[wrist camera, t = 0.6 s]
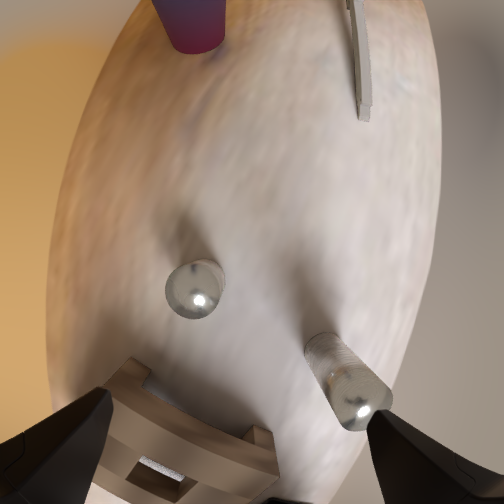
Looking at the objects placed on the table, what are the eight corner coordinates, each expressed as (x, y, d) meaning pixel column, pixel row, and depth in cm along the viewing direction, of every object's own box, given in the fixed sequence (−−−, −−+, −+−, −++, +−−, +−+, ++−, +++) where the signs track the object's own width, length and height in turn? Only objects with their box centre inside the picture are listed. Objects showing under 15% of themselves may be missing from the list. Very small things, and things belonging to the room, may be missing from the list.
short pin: (233, 273, 21) (230, 283, 16) (211, 309, 21) (201, 329, 16) (197, 250, 21) (182, 253, 16) (175, 286, 21) (155, 299, 16)
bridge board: (272, 432, 21) (279, 477, 15) (210, 494, 22) (205, 533, 16) (131, 356, 21) (100, 388, 15) (93, 434, 21) (69, 466, 15)
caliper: (335, -14, 20) (348, -47, 14) (344, -12, 20) (357, -45, 14) (356, 121, 21) (388, 88, 15) (368, 123, 21) (402, 91, 15)
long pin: (349, 343, 21) (403, 393, 12) (327, 374, 21) (367, 436, 12) (319, 325, 21) (364, 374, 12) (296, 358, 21) (326, 422, 12)
